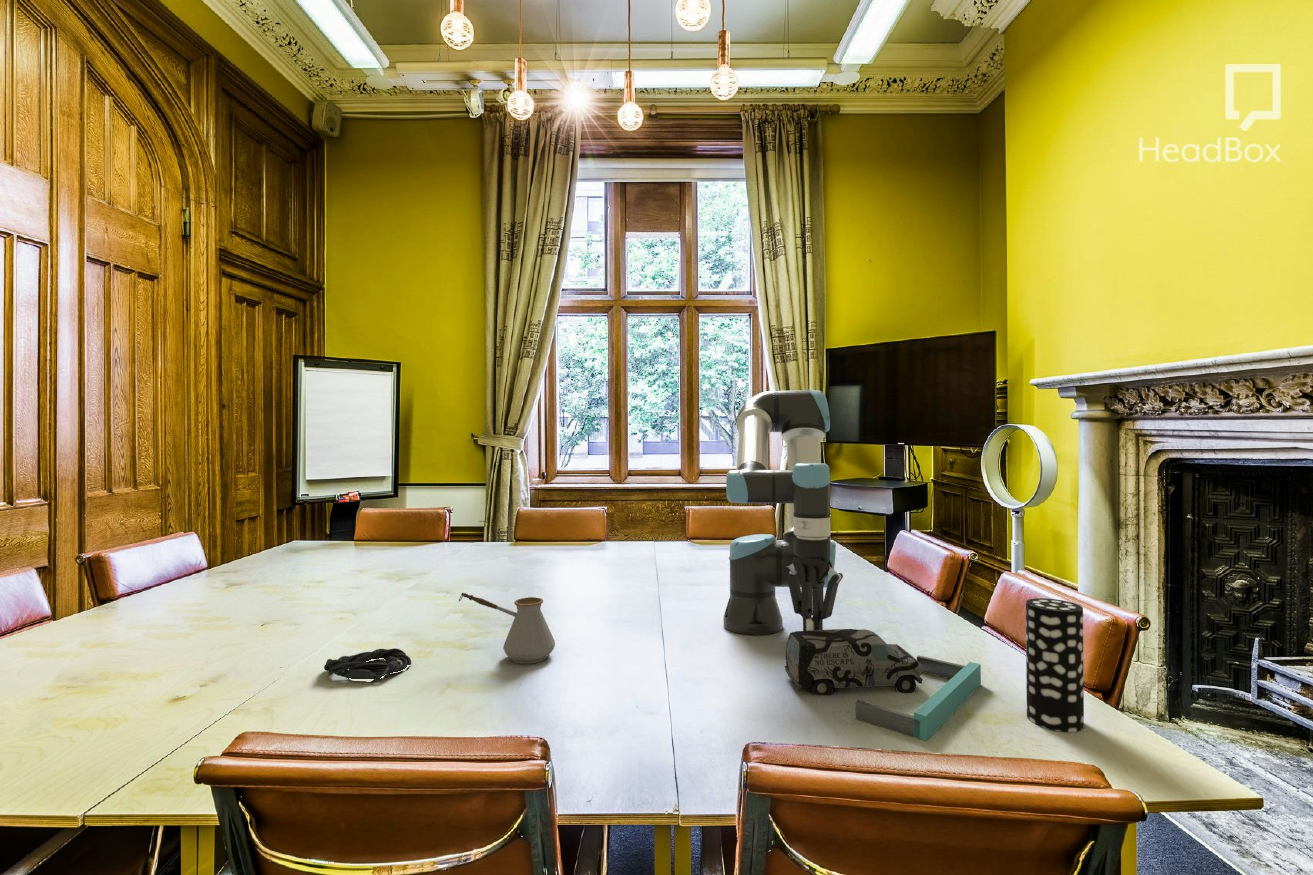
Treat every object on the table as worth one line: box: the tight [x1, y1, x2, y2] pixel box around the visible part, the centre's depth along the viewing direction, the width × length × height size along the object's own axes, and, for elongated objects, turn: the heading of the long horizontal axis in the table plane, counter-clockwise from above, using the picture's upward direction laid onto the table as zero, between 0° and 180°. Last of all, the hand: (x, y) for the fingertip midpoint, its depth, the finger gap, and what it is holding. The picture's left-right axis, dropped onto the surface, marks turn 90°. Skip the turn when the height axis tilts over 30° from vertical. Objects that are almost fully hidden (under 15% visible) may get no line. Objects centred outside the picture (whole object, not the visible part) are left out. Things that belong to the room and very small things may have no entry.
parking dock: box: [854, 654, 982, 741], centre depth 117 cm, size 12×30×4 cm, turn 138°
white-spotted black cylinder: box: [1025, 597, 1085, 733], centre depth 108 cm, size 8×8×20 cm
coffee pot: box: [458, 592, 556, 665], centre depth 142 cm, size 21×12×15 cm, turn 91°
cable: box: [323, 647, 412, 680], centre depth 135 cm, size 17×14×4 cm
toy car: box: [784, 628, 924, 696], centre depth 125 cm, size 11×25×10 cm, turn 93°
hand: (813, 649), depth 131 cm, fingers closed
